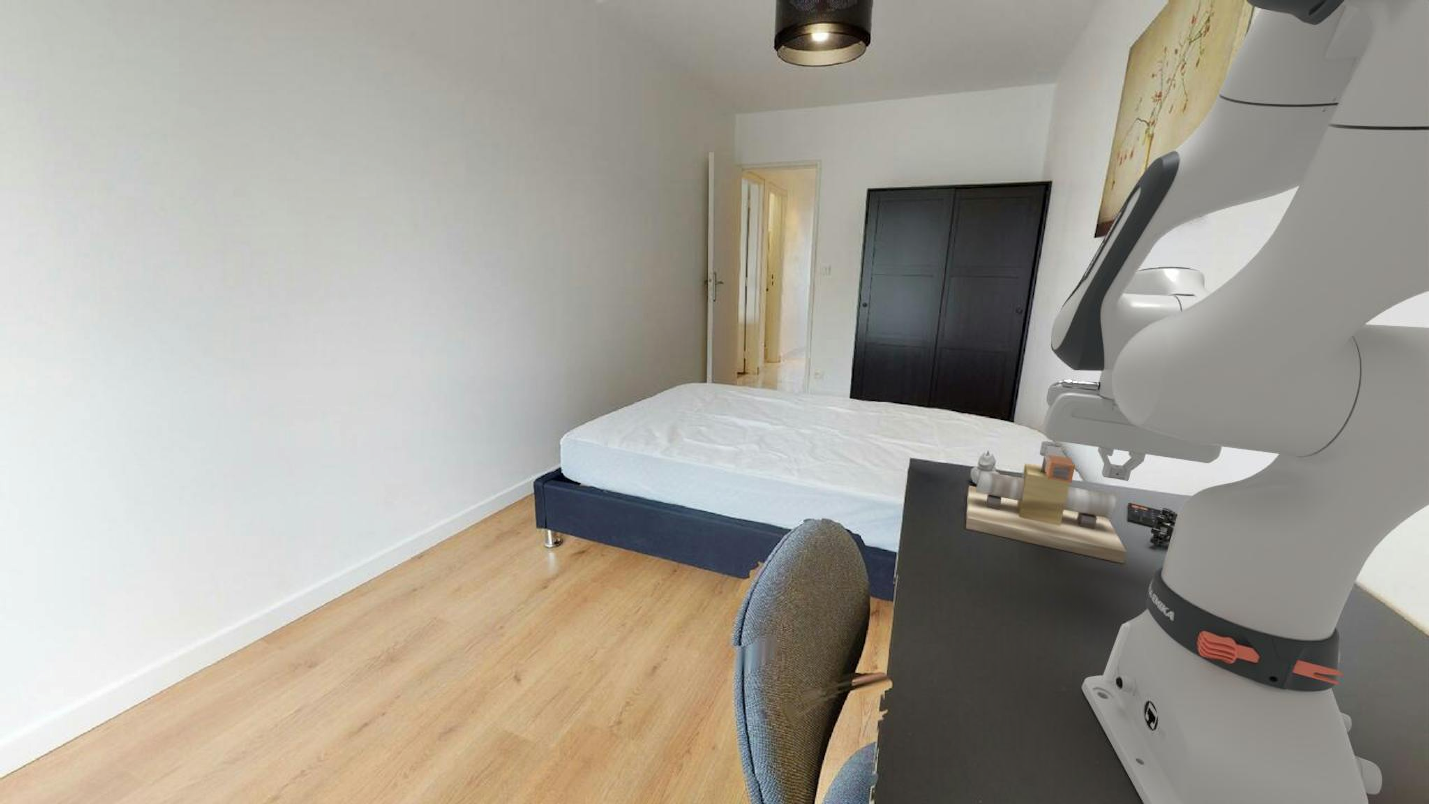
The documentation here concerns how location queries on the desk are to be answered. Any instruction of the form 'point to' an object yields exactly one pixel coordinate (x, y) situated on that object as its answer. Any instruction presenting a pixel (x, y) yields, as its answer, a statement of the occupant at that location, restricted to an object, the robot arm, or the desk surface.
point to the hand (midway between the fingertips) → (1114, 477)
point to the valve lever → (1057, 462)
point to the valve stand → (1045, 513)
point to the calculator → (1144, 515)
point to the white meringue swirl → (984, 466)
